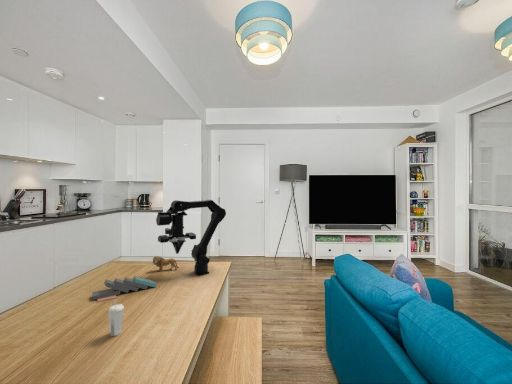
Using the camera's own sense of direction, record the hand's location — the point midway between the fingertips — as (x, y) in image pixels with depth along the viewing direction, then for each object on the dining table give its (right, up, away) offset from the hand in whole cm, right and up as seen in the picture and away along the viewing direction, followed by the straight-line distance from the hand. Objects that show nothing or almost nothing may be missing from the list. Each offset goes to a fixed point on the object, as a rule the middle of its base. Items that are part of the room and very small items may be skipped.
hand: (177, 253), depth 132 cm
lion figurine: (-10, -13, +12) cm, 20 cm away
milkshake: (-4, -14, -51) cm, 53 cm away
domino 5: (-7, -12, -11) cm, 18 cm away
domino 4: (-11, -12, -13) cm, 21 cm away
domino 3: (-14, -12, -16) cm, 24 cm away
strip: (-24, -13, -23) cm, 36 cm away
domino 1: (-20, -12, -20) cm, 30 cm away
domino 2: (-17, -12, -18) cm, 28 cm away
